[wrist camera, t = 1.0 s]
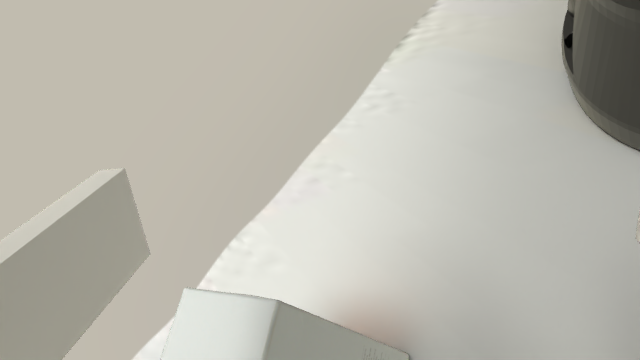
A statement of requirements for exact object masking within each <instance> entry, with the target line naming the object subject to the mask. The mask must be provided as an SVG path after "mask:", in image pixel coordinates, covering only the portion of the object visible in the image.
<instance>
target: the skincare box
mask: <svg viewBox="0 0 640 360" xmlns="http://www.w3.org/2000/svg"><path fill="white" fill-rule="evenodd" d="M160 360H409V355H408V354H407V353H405V352H403V351H400V350H398V349H396V348H393V347H391V346H388V345H386V344H383V343H381V342H378V341H376V340H374V339H371V338H369V337H366V336H364V335H362V334H359V333H357V332H355V331H352V330H350V329H347V328H345V327H342V326H340V325H337V324H335V323H333V322H330V321H328V320H325V319H323V318H321V317H318V316H316V315H313V314H311V313H309V312H306V311H304V310H301V309H299V308H296V307H294V306H291V305H289V304H286V303H284V302H282V301H279V300H275V299H269V298H264V297H258V296H252V295H245V294H235V293H225V292H218V291H210V290H202V289H195V288H188V287H187V288H185V289H184V290H183V294H182V297H181V300H180V303H179V305H178V309H177V311H176V315H175V318H174V321H173V324H172V327H171V329H170V332H169V335H168V338H167V341H166V344H165V347H164V350H163V353H162V356H161V358H160Z"/></svg>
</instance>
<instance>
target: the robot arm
mask: <svg viewBox="0 0 640 360" xmlns="http://www.w3.org/2000/svg"><path fill="white" fill-rule="evenodd" d="M562 54H563V61H564V66H565V69H566V72H567V75H568V78H569V81H570V84H571V87H572V90H573V92H574V95H575V97H576V99H577V101H578V103H579V104H580V106H581V107H582V109H583V110H584V112H585V113H586V114H587V115H588V116H589V118H590V119H591V120H592V121H593V122H594V123H595V124H596V125H598V126H599V127H600V128H601V129H602V130H604V131H605V132H607V133H608V134H609V135H611V136H612V137H614V138H616V139H617V140H619V141H621V142H623V143H625V144H627V145H629V146H631V147H633V148H635V149H638V150H640V0H569V1H568V10H567V13H566V16H565V21H564V26H563V33H562ZM636 240H637V241H638V242H639V243H640V210H639V217H638V224H637V231H636ZM149 255H150V250H149V247H148V244H147V241H146V237H145V234H144V231H143V227H142V224H141V220H140V217H139V214H138V211H137V207H136V204H135V200H134V197H133V194H132V190H131V187H130V184H129V180H128V177H127V174H126V170H125V168H120V169H108V170H107V169H105V170H99V171H97V172H96V173H95V174H93V175H92V176H91V177H89V178H88V179H86V180H85V181H83V182H82V183H81V184H79V185H78V186H76V187H75V188H73V189H72V190H71V191H69V192H68V193H66V194H65V195H64V196H62V197H61V198H59V199H58V200H57V201H55V202H54V203H52V204H51V205H49V206H48V207H47V208H45V209H44V210H42V211H41V212H40V213H38V214H37V215H35V216H34V217H33V218H32V219H30V220H28V221H27V222H25V223H24V224H23V225H21V226H20V227H18V228H17V229H16V230H14V231H13V232H11V233H10V234H9V235H7V236H6V237H5V238H3V239H2V240H0V360H62V359H63V357H64V356H65V355H66V354H67V353H68V352H69V350H70V349H71V348H72V347H73V346H74V344H75V343H76V342H77V341H78V340H79V339H80V337H81V336H82V335H83V334H84V333H85V331H86V330H87V329H88V328H89V327H90V325H91V324H92V323H93V322H94V321H95V320H96V318H97V317H98V316H99V315H100V313H101V312H102V311H103V310H104V309H105V308H106V306H107V305H108V304H109V303H110V302H111V300H112V299H113V298H114V297H115V295H116V294H117V293H118V292H119V291H120V290H121V289H122V287H123V286H124V285H125V284H126V283H127V281H128V280H129V279H130V278H131V277H132V275H133V274H134V273H135V272H136V271H137V269H138V268H139V267H140V266H141V265H142V263H143V262H144V261H145V260H146V259H147V257H148V256H149Z"/></svg>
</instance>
